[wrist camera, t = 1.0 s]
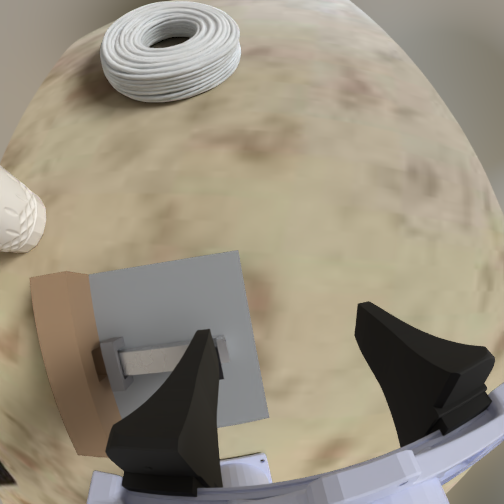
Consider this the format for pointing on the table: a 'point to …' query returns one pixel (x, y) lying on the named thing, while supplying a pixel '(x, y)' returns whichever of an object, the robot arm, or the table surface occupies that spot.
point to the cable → (170, 51)
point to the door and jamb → (141, 339)
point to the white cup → (19, 215)
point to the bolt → (164, 357)
